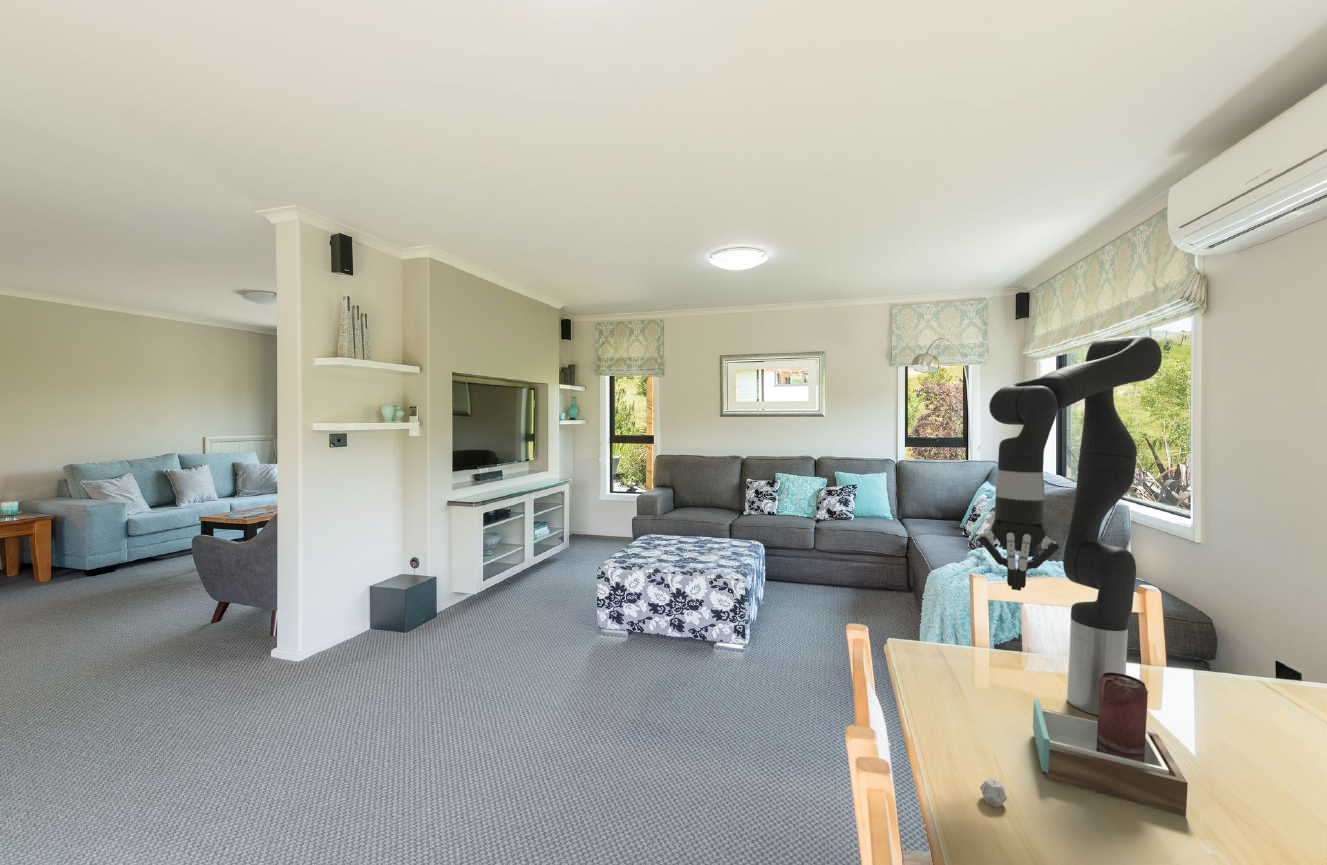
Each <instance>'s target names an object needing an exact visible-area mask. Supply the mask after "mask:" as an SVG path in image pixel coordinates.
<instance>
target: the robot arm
mask: <svg viewBox="0 0 1327 865" xmlns="http://www.w3.org/2000/svg"><path fill="white" fill-rule="evenodd" d="M1162 353H1163V352H1162V348H1161V347H1160V344H1159V343H1158V342H1157V341H1156V340H1155V339H1154V338H1152V337H1151V336H1147V335H1129V336H1120V337H1119V336H1118V337H1111V338H1110V337H1109V338H1108V337H1107V338H1101V339H1097V340H1095V341H1094V342H1092V343H1091V345H1090V346H1089V348H1088V350H1087V352H1086V356H1085V361H1084V362H1080V363H1075V364H1071V365H1067V366H1064V367H1061V368H1058V369H1056V370H1055V369H1054V370H1053V371H1050V372H1049V373H1046V374H1044V375H1042V376H1040V377H1038V378H1033V379H1029V380H1024V381H1021V382H1019V381H1018V382H1017V383H1013V384H1008V385H1006V386H1003V387H1001V388H1000V389H997V391H996V392H995V393H994V394H993V395H992V396H991V399H990V401H989V404H988V406H989V408H988V409H989V413H990V416H991V417H992V418H993V419H994V420H995V421H997V422H998V423H1000V424H1002V425H1013V426H1015V425H1016V426H1022V428H1021V430H1020V433H1019V434H1018V435H1017V436H1014V437H1008V438H1004V439H1002V440H1001V441H1000V442H999V447H998V457H997V458H998V460H997V461H998V463H997V476H996V479H995V480H996V481H995V490H994V492H995V498H994V500H995V501H994V502H995V503H994V504H995V505H994V522H993V524H992V525H991V529H990V530H989V531H987V532H986V533H981V534H979V537H978V538H979V542H980V543H981V544H982V546H983V547H984V548H985V549H986V550H987V551H988V554H990V556H991V557H992V558H993V559H994V561H995V562H996V563H997V564H998V565H999V566H1004V567H1005V568H1006V569H1007V570H1006V574H1007V575H1006V581H1007V582H1006V583H1007V585H1008V586H1009V587H1010V588H1011V591H1012V590H1014V591H1020V592H1021V591H1022V589H1024V588H1025V587H1026V582H1027V571H1028V570H1032V569H1033V570H1034V569H1035V570H1037V569H1038V568H1039V567H1041V565H1042V564H1044V562H1045V561H1047V560H1048V559H1049V558H1050V557H1051V556H1052V555H1053V554H1055V553H1056V552H1057V551H1058V550H1059V549H1060V545H1059V544H1058V543H1057V542H1056V541H1055V540H1052V539H1051V538H1049V537H1048V536H1047V534H1046V533H1047V532H1046V530H1045V529H1044V502H1045V495H1046V493H1045V480H1044V460H1045V458H1044V457H1045V455H1044V454H1045V448H1046V444H1047V442H1048V439H1049V436H1050V434H1051V431H1052V427H1053V425H1054V422H1055V420H1056V416H1057V414H1058V411H1060V410H1063V409H1065V408H1068V407H1069V406H1072V405H1074V404H1075V403H1078V402H1080V401H1083V400H1084V410H1083V411H1084V413H1083V426H1082V433H1081V442H1080V449H1079V454H1078V464H1077V477H1076V488H1075V496H1074V503H1073V509H1072V515H1071V519H1070V525H1069V529H1068V533H1067V536H1066V537H1067V538H1066V542H1065V545H1064V551H1063V559H1062V560H1063V562H1062V563H1063V564H1062V566H1063V572H1064V574H1065V576H1066V578H1067V579H1068V580H1069V581H1070V582H1073V583H1074V584H1078V585H1081V586H1083V587H1087V588H1092V589H1094V590H1098V593H1097V596H1096V597H1097V598H1096V599H1095V600H1094V601H1081V602H1075V603H1073V604H1072V605H1071V609H1070V623H1069V625H1070V626H1069V627H1070V629H1069V631H1070V632H1069V647H1068V648H1069V649H1068V650H1069V652H1068V672H1067V674H1068V676H1067V687H1066V688H1067V689H1066V690H1067V691H1066V692H1067V693H1066V695H1067V696H1066V699H1067V700H1066V701H1068V703H1069V704H1070V705H1071V706H1073V707H1074V708H1077V709H1079V710H1081V711H1084V712H1086V713H1089V714H1092V715H1095V716H1098V706H1099V685H1100V679H1101V677H1102V676H1103V674H1104V673H1110V672H1112V673H1120V674H1124V675H1127V673H1126V672H1127V654H1128V636H1129V635H1128V633H1129V632H1128V630H1129V629H1128V628H1129V622H1130V621H1129V620H1130V618H1131V615H1132V612H1133V608H1134V607H1133V605H1134V594H1135V587H1136V578H1137V564H1136V560H1135V558H1134V555H1133V554H1132V553H1131V552H1130V550H1128V549H1125V548H1124V547H1119V546H1114V545H1110V544H1105V543H1100V542H1099V536H1100V531H1101V527H1102V523H1103V522H1104V519H1105V517H1106V516H1107V514H1108V513H1109V512H1110V511H1111V509H1112V508H1113V507H1114V506H1115V505H1116V504H1117V503H1118V502H1119V501H1120V500H1121V499H1122V498H1123V497H1124V495H1125V494H1126V493H1127V492H1128V491H1129V490H1130V488H1131V487H1132V485H1133V483H1134V480H1135V476H1136V475H1135V474H1136V466H1137V455H1138V451H1137V450H1138V449H1137V446H1136V443H1135V440H1134V438H1133V436H1132V435H1131V433H1130V432H1129V430H1128V428H1127V426H1126V424H1125V423H1124V422H1123V421H1122V419H1121V418H1120V416H1119V414H1118V412H1117V410H1116V406H1115V401H1114V400H1115V399H1114V398H1115V397H1114V389H1115V388H1117V387H1120V386H1125V385H1127V384H1132V383H1138V382H1143V381H1147V380H1149V379H1152V378H1153V376H1155V375H1157V372H1158V371H1159V370H1160V367H1161V365H1162V361H1163V360H1162ZM994 537H995V538H996V539H997V541H998V543H999V544H1000V545H1001V546H1002V547H1003V548H1004V549H1005V550H1006V551H1005V552H1006V557H1004V556H1003V555H1002V554H1001V553H1000V552H999V550H998V548H996V547H995V545H994V543H995V540H994ZM1041 542H1042V543H1041ZM1040 543H1041V548H1042V549H1041V550H1040V551H1038V552H1037V553H1036V554H1035V555H1034V556H1033V557H1032V558H1031V559H1030V560H1028V559H1029V554H1030V553H1029V552H1031V551H1033V550H1034V549H1035V548H1036V547H1037V546H1038V545H1039V544H1040ZM1016 551H1018V559H1017V563H1016ZM1016 564H1017V565H1016Z"/></svg>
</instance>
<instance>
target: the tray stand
mask: <svg viewBox="0 0 1327 865" xmlns="http://www.w3.org/2000/svg"><path fill="white" fill-rule="evenodd" d="M1042 709H1043V710H1047V711H1052V712H1055V711H1054V710H1049V709H1045V708H1042ZM1056 712H1057V713H1061V714H1064V712H1059V711H1056ZM1065 714H1066V713H1065ZM1066 715H1070V716H1075V717H1079V718H1084V719H1088V720H1093V721H1096V720H1095V719H1090V718H1086V717H1081V716H1077V715H1073V714H1068V713H1067V714H1066ZM1146 732H1147V734H1148V735H1149V737H1150V739H1151V740H1152V742H1153V744H1154V746H1155V747H1156V749H1157V751H1158V752H1159V754H1160V756H1161V758H1162V759H1163V761H1164V763H1165V765H1166V766H1167V768H1168V770H1169V775H1166V774H1162V773H1158V772H1154V771H1150V770H1146V769H1142V768H1138V767H1133V766H1129V765H1125V764H1121V763H1117V762H1113V761H1109V760H1105V759H1101V758H1096V757H1092V756H1088V755H1084V754H1080V753H1076V752H1072V751H1068V750H1064V749H1059V748H1055V747H1051V746H1049V765H1048V773H1047V772H1045V773H1046V777H1047V780H1048V781H1053V782H1057V783H1060V784H1064V785H1067V786H1072V787H1075V788H1080V789H1083V790H1085V791H1091V792H1094V793H1098V794H1102V795H1106V796H1109V797H1113V798H1116V799H1121V800H1124V801H1128V802H1131V803H1136V804H1139V805H1143V806H1147V807H1150V808H1154V809H1157V810H1162V811H1166V812H1169V813H1172V814H1177V815H1180V816H1185V817H1186V816H1187V802H1188V781H1187V779H1186V778H1185V776H1184V775H1183V773H1182V771H1181V769H1180V767H1179V766H1178V765H1177V763H1176V762H1175V760H1174V758H1173V756H1172V755H1171V753H1170V752H1169V750H1168V749H1167V747H1166V744H1165V743H1164V742H1163V740H1162V738H1161V737H1160V735H1159V734H1158V733H1155V732H1154V733H1153V732H1149V731H1146Z"/></svg>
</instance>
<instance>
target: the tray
mask: <svg viewBox="0 0 1327 865" xmlns="http://www.w3.org/2000/svg"><path fill="white" fill-rule="evenodd" d="M1043 709H1044V708H1042V705H1041V702H1040V700H1039V699H1037V698H1035V699H1033V713H1032V714H1033V715H1032V731H1033V734H1034V736H1033V737H1034V739H1035V744H1036V749H1037V750H1036V751H1037V753H1038V758H1039V763H1040V766H1041V772H1045V773H1046V772H1047V773H1048V765H1049V746H1051V747H1055V748H1059V749H1064V750H1068V751H1072V752H1076V753H1080V754H1084V755H1088V756H1092V757H1096V758H1101V759H1105V760H1109V761H1113V762H1117V763H1121V764H1125V765H1129V766H1133V767H1138V768H1142V769H1146V770H1150V771H1154V772H1158V773H1162V774H1166V775H1169V770H1168V768H1167V766H1166V765H1165V763H1164V761H1163V759H1162V758H1161V756H1160V754H1159V752H1158V751H1157V749H1156V747H1155V746H1154V744H1153V742H1152V740H1151V739H1150V737H1149V735H1148V734H1147V732H1148V731H1146V739H1145V759H1144V763H1143V762H1139V761H1134V760H1130V759H1126V758H1122V757H1118V756H1114V755H1109V754H1105V753H1101V752H1097V751H1096V748H1097V727H1098V720H1095V721H1093V720H1094V719H1091V720H1088V719H1089V718H1086V719H1084V718H1085V717H1082V718H1079V717H1080V716H1077V717H1075V716H1076V715H1073V716H1070V715H1071V714H1068V715H1066V713H1063V714H1061V713H1062V712H1059V713H1057V712H1058V711H1054V712H1052V711H1053V710H1050V711H1047V710H1048V709H1045V710H1043Z"/></svg>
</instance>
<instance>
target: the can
mask: <svg viewBox="0 0 1327 865" xmlns="http://www.w3.org/2000/svg"><path fill="white" fill-rule="evenodd" d="M1148 693H1149V692H1148V689H1147V687H1146V684H1145V683H1144V682H1143V681H1142V680H1141V679H1138V678H1136V677H1133V676H1131V675H1128V674H1126V675H1124V674H1120V673H1112V672H1110V673H1104V674H1103V676H1102V677H1101V679H1100V685H1099V706H1098V715H1097V721H1098V727H1097V748H1096V751H1097V752H1101V753H1105V754H1109V755H1114V756H1118V757H1122V758H1126V759H1130V760H1134V761H1139V762H1143V763H1144V759H1145V739H1146V732H1147V718H1148V717H1147V716H1148V715H1147V714H1148V700H1149V699H1148V698H1149V697H1148V695H1149V694H1148Z"/></svg>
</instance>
